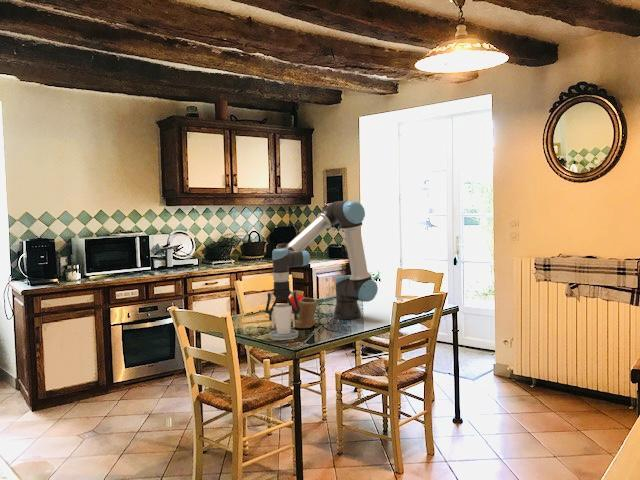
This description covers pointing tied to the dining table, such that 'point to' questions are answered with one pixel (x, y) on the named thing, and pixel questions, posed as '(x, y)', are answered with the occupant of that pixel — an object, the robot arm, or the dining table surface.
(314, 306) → the stone cup
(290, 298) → the tomato
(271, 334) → the saucer
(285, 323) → the foam cup
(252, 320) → the dining table surface
